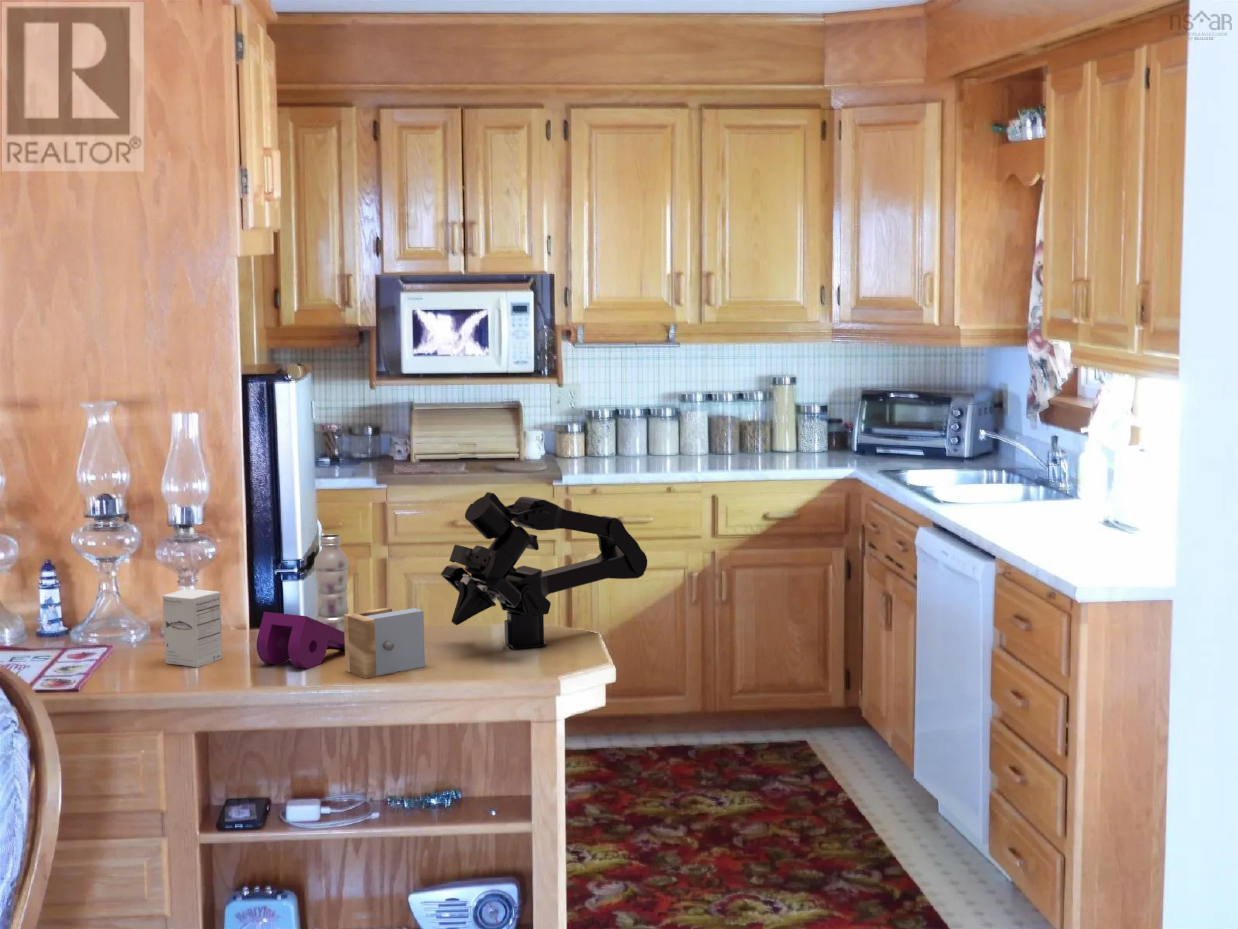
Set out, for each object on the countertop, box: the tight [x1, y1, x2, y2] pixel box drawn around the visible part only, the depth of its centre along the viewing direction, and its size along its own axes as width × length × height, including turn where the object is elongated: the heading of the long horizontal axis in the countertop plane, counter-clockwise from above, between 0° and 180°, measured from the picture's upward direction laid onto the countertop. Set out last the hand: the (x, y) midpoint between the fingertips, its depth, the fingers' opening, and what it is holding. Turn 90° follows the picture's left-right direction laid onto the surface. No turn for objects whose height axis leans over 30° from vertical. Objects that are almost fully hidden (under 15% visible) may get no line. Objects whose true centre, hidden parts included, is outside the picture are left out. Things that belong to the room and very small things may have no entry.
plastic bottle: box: [313, 534, 350, 632], centre depth 281 cm, size 6×7×20 cm
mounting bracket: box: [256, 611, 345, 670], centre depth 267 cm, size 9×8×18 cm
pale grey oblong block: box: [365, 607, 426, 677], centre depth 258 cm, size 10×5×10 cm, turn 129°
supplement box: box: [162, 588, 223, 668], centre depth 266 cm, size 7×7×13 cm
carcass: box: [344, 607, 393, 680], centre depth 257 cm, size 9×7×10 cm
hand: (454, 623), depth 265 cm, fingers closed
